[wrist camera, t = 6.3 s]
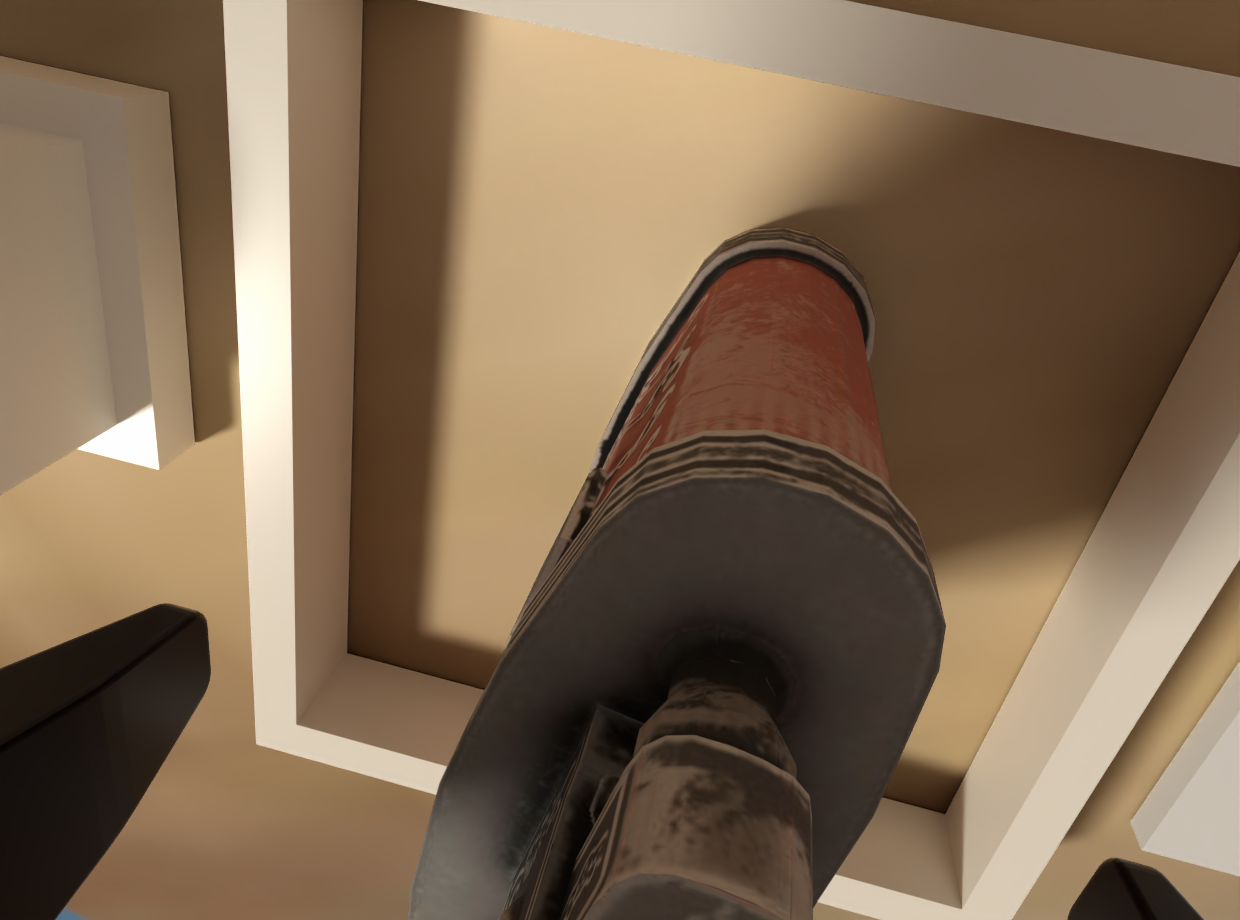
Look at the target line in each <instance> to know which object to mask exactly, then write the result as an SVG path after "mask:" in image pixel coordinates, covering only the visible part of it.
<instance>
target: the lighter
mask: <svg viewBox="0 0 1240 920" xmlns="http://www.w3.org/2000/svg"><path fill="white" fill-rule="evenodd" d="M875 325H876V321H875V317H874V312H873V308H872V304H871V301H870V297H869V294H868V291H867V288H866V285H865V282H864V279H863V276H862V275H861V274H860V272H859V271H858V270H857V269H856V267H855V266H854V265H853V264H852V263H851V261H850V260H849V259H848V258H847V256H846V255H845V254H844V253H843V252H842V251H840V250H839V249H837V248H835V247H834V246H832V245H831V244H829V243H827V242H826V241H824V240H822V239H821V238H819V237H818V236H816V235H813V234H809V233H805V232H801V231H797V230H793V229H789V228H785V227H781V228H766V229H752V230H750V231H747V232H745V233H742V234H740V235H738V236H735V237H733V238H731V239H728V240H726V241H724V242H723V243H722V244H721V245H720V246H719V247H718V248H717V249H716V250H715V251H714V252H713V253H712V254H710V255H709V256H708V257H707V258H706V259H705V260H704V262H703V263H702V265H701V266H700V268H699V269H698V271H697V272H696V274H695V275H694V277H693V278H692V280H691V281H690V283H689V284H688V286H687V287H686V289H685V290H684V292H683V293H682V295H681V296H680V298H679V299H678V301H677V302H676V304H675V305H674V307H673V308H672V310H671V311H670V313H669V314H668V316H667V317H666V319H665V320H664V321H663V323H662V324H661V326H660V327H659V329H658V330H657V332H656V333H655V335H654V336H653V338H652V339H651V341H650V342H649V344H648V346H647V348H646V350H645V352H644V354H643V356H642V358H641V360H640V362H639V364H638V366H637V368H636V370H635V372H634V374H633V376H632V378H631V380H630V382H629V384H628V386H627V388H626V390H625V392H624V394H623V396H622V398H621V400H620V402H619V404H618V406H617V408H616V410H615V412H614V414H613V416H612V418H611V420H610V422H609V424H608V426H607V428H606V430H605V432H604V435H603V437H602V439H601V441H600V443H599V445H598V447H597V449H596V452H595V456H594V459H593V462H592V465H591V468H590V472H589V475H588V477H587V479H586V481H585V483H584V485H583V487H582V489H581V491H580V493H579V495H578V496H577V498H576V500H575V502H574V504H573V506H572V508H571V510H570V512H569V514H568V516H567V518H566V520H565V522H564V524H563V526H562V528H561V530H560V532H559V534H558V536H557V538H556V540H555V542H554V544H553V546H552V548H551V550H550V552H549V554H548V556H547V558H546V560H545V562H544V564H543V566H542V568H541V570H540V572H539V574H538V576H537V578H536V580H535V583H534V585H533V587H532V589H531V591H530V593H529V595H528V597H527V600H526V602H525V604H524V606H523V608H522V610H521V612H520V614H519V617H518V619H517V621H516V623H515V625H514V627H513V629H512V632H511V634H510V636H509V638H508V640H507V643H506V646H505V650H504V653H503V654H502V656H501V658H500V660H499V662H498V664H497V666H496V668H495V670H494V672H493V674H492V676H491V678H490V680H489V682H488V684H487V686H486V688H485V690H484V692H483V694H482V696H481V698H480V700H479V702H478V704H477V706H476V708H475V710H474V711H473V713H472V715H471V717H470V719H469V721H468V723H467V725H466V728H465V730H464V732H463V734H462V736H461V738H460V740H459V742H458V745H457V747H456V749H455V751H454V753H453V755H452V757H451V759H450V762H449V764H448V766H447V768H446V770H445V772H444V774H443V776H442V779H441V781H440V783H439V786H438V790H437V794H436V797H435V801H434V805H433V809H432V812H431V816H430V820H429V824H428V827H427V831H426V835H425V839H424V842H423V846H422V850H421V854H420V857H419V861H418V865H417V868H416V872H415V876H414V880H413V883H412V887H411V891H410V903H409V917H408V920H813V908H814V906H815V904H816V903H817V901H818V900H819V898H820V897H821V895H822V894H823V892H824V891H825V889H826V888H827V886H828V885H829V883H830V882H831V880H832V879H833V877H834V876H835V874H836V873H837V871H838V870H839V868H840V867H841V865H842V864H843V862H844V861H845V859H846V857H847V856H848V854H849V853H850V851H851V850H852V848H853V847H854V845H855V844H856V842H857V841H858V839H859V838H860V836H861V835H862V833H863V832H864V830H865V829H866V827H867V826H868V824H869V823H870V821H871V820H872V818H873V817H874V814H875V812H876V810H877V808H878V805H879V803H880V801H881V799H882V796H883V794H884V792H885V790H886V788H887V785H888V783H889V781H890V779H891V776H892V774H893V772H894V770H895V768H896V765H897V763H898V761H899V759H900V756H901V754H902V752H903V750H904V747H905V745H906V743H907V741H908V739H909V736H910V734H911V732H912V730H913V727H914V725H915V723H916V721H917V719H918V716H919V714H920V712H921V710H922V707H923V705H924V703H925V701H926V698H927V696H928V694H929V692H930V690H931V687H932V685H933V683H934V681H935V678H936V676H937V674H938V672H939V668H940V661H941V654H942V648H943V641H944V635H945V628H946V625H945V620H944V616H943V611H942V607H941V603H940V598H939V594H938V590H937V585H936V581H935V577H934V572H933V568H932V564H931V561H930V558H929V556H928V553H927V550H926V547H925V544H924V541H923V538H922V535H921V532H920V529H919V526H918V523H917V520H916V519H915V518H914V516H913V515H912V514H911V513H910V512H909V511H908V509H907V508H906V507H905V506H904V505H903V504H902V503H901V501H900V500H899V499H898V498H897V497H896V496H895V495H894V493H893V492H892V491H891V486H890V481H889V476H888V470H887V465H886V459H885V454H884V448H883V443H882V437H881V432H880V426H879V421H878V415H877V410H876V404H875V399H874V393H873V388H872V382H871V377H870V371H869V366H868V364H869V361H870V358H871V355H872V352H873V347H874V336H875Z"/></svg>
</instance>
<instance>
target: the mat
mask: <svg viewBox="0 0 1240 920" xmlns="http://www.w3.org/2000/svg"><path fill="white" fill-rule="evenodd" d="M1130 823H1131V825H1132V828H1133V830H1134V833H1135V835H1136V838H1137V840H1138V843H1139V845H1140V848H1141V850H1143V851H1147V852H1151V853H1154V854H1158V855H1162V856H1166V857H1169V858H1173V859H1177V860H1180V861H1184V862H1188V863H1192V864H1195V865H1199V866H1203V867H1207V868H1210V869H1214V870H1218V871H1222V872H1225V873H1229V874H1233V875H1237V876H1240V662H1239V663H1238V664H1237V666H1236V667H1235V669H1234V670H1233V672H1232V673H1231V675H1230V676H1229V678H1228V679H1227V681H1226V682H1225V684H1224V685H1223V687H1222V688H1221V689H1220V691H1219V692H1218V694H1217V695H1216V697H1215V698H1214V700H1213V701H1212V703H1211V704H1210V706H1209V707H1208V709H1207V710H1206V711H1205V713H1204V714H1203V716H1202V717H1201V719H1200V720H1199V722H1198V723H1197V725H1196V726H1195V728H1194V729H1193V731H1192V732H1191V734H1190V735H1189V736H1188V738H1187V739H1186V741H1185V742H1184V744H1183V745H1182V747H1181V748H1180V750H1179V751H1178V753H1177V754H1176V756H1175V757H1174V758H1173V760H1172V761H1171V763H1170V764H1169V766H1168V767H1167V769H1166V770H1165V772H1164V773H1163V775H1162V776H1161V778H1160V779H1159V781H1158V782H1157V783H1156V785H1155V786H1154V788H1153V789H1152V791H1151V792H1150V794H1149V795H1148V797H1147V798H1146V800H1145V801H1144V803H1143V804H1142V805H1141V807H1140V808H1139V810H1138V811H1137V813H1136V814H1135V816H1134V817H1133V819H1132V820H1131V822H1130Z"/></svg>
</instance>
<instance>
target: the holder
mask: <svg viewBox="0 0 1240 920" xmlns="http://www.w3.org/2000/svg"><path fill="white" fill-rule="evenodd" d="M419 1H424V2H429V3H434V4H439V5H443V6H448V7H453V8H458V9H463V10H468V11H473V12H478V13H483V14H488V15H493V16H498V17H503V18H508V19H512V20H517V21H522V22H527V23H532V24H537V25H542V26H547V27H552V28H557V29H562V30H567V31H572V32H577V33H581V34H586V35H591V36H596V37H601V38H606V39H611V40H616V41H621V42H626V43H631V44H636V45H641V46H646V47H650V48H655V49H660V50H665V51H670V52H675V53H680V54H685V55H690V56H695V57H700V58H705V59H710V60H715V61H719V62H724V63H729V64H734V65H739V66H744V67H749V68H754V69H759V70H764V71H769V72H774V73H779V74H784V75H788V76H793V77H798V78H803V79H808V80H813V81H818V82H823V83H828V84H833V85H838V86H843V87H848V88H853V89H857V90H862V91H867V92H872V93H877V94H882V95H887V96H892V97H897V98H902V99H907V100H912V101H917V102H922V103H926V104H931V105H936V106H941V107H946V108H951V109H956V110H961V111H966V112H971V113H976V114H981V115H986V116H991V117H995V118H1000V119H1005V120H1010V121H1015V122H1020V123H1025V124H1030V125H1035V126H1040V127H1045V128H1050V129H1055V130H1060V131H1064V132H1069V133H1074V134H1079V135H1084V136H1089V137H1094V138H1099V139H1104V140H1109V141H1114V142H1119V143H1124V144H1129V145H1133V146H1138V147H1143V148H1148V149H1153V150H1158V151H1163V152H1168V153H1173V154H1178V155H1183V156H1188V157H1193V158H1198V159H1202V160H1207V161H1212V162H1217V163H1222V164H1227V165H1232V166H1237V167H1240V77H1236V76H1231V75H1226V74H1221V73H1216V72H1210V71H1205V70H1200V69H1195V68H1190V67H1185V66H1180V65H1174V64H1169V63H1164V62H1159V61H1154V60H1149V59H1144V58H1139V57H1133V56H1128V55H1123V54H1118V53H1113V52H1108V51H1103V50H1097V49H1092V48H1087V47H1082V46H1077V45H1072V44H1067V43H1061V42H1056V41H1051V40H1046V39H1041V38H1036V37H1031V36H1026V35H1020V34H1015V33H1010V32H1005V31H1000V30H995V29H990V28H984V27H979V26H974V25H969V24H964V23H959V22H954V21H948V20H943V19H938V18H933V17H928V16H923V15H918V14H912V13H907V12H902V11H897V10H892V9H887V8H882V7H877V6H871V5H866V4H861V3H856V2H851V1H846V0H419ZM223 14H224V36H225V58H226V81H227V103H228V125H229V148H230V170H231V192H232V215H233V237H234V259H235V282H236V304H237V326H238V349H239V371H240V393H241V416H242V438H243V460H244V483H245V505H246V527H247V550H248V572H249V594H250V617H251V639H252V661H253V684H254V706H255V728H256V744H257V745H261V746H264V747H268V748H272V749H275V750H279V751H282V752H286V753H289V754H293V755H296V756H300V757H304V758H307V759H311V760H314V761H318V762H321V763H325V764H328V765H332V766H336V767H339V768H343V769H346V770H350V771H353V772H357V773H360V774H364V775H368V776H371V777H375V778H378V779H382V780H385V781H389V782H393V783H396V784H400V785H403V786H407V787H410V788H414V789H417V790H421V791H425V792H428V793H432V794H435V795H436V794H437V790H438V786H439V783H440V781H441V779H442V776H443V774H444V772H445V770H446V768H447V766H448V764H449V762H450V759H451V757H452V755H453V753H454V751H455V749H456V747H457V745H458V742H459V740H460V738H461V736H462V734H463V732H464V730H465V728H466V725H467V723H468V721H469V719H470V717H471V715H472V713H473V711H474V710H475V708H476V706H477V704H478V702H479V700H480V698H481V696H482V694H483V692H484V690H482V689H478V688H475V687H471V686H467V685H463V684H460V683H456V682H452V681H449V680H445V679H441V678H438V677H434V676H430V675H426V674H423V673H419V672H415V671H412V670H408V669H404V668H400V667H397V666H393V665H389V664H386V663H382V662H378V661H374V660H371V659H367V658H363V657H360V656H356V655H352V654H348V653H347V631H348V590H349V549H350V509H351V468H352V427H353V386H354V345H355V305H356V264H357V223H358V182H359V141H360V100H361V60H362V19H363V0H223ZM194 445H195V439H194V426H193V412H192V399H191V386H190V372H189V359H188V346H187V332H186V319H185V306H184V292H183V279H182V266H181V253H180V239H179V226H178V213H177V199H176V186H175V173H174V159H173V146H172V133H171V119H170V106H169V93H168V92H164V91H160V90H155V89H151V88H146V87H141V86H137V85H132V84H128V83H123V82H118V81H114V80H109V79H105V78H100V77H95V76H91V75H86V74H82V73H77V72H72V71H68V70H63V69H59V68H54V67H49V66H45V65H40V64H36V63H31V62H26V61H22V60H17V59H13V58H8V57H3V56H0V495H1V494H3V493H5V492H6V491H8V490H10V489H11V488H13V487H15V486H16V485H18V484H20V483H21V482H23V481H25V480H26V479H28V478H30V477H31V476H33V475H35V474H36V473H38V472H39V471H41V470H43V469H44V468H46V467H48V466H49V465H51V464H53V463H54V462H56V461H58V460H59V459H61V458H63V457H64V456H66V455H68V454H69V453H71V452H73V451H74V450H76V449H79V450H83V451H87V452H91V453H95V454H99V455H103V456H107V457H110V458H114V459H118V460H122V461H126V462H130V463H134V464H138V465H142V466H146V467H150V468H153V469H157V470H160V469H161V468H163V467H164V466H166V465H167V464H168V463H170V462H171V461H173V460H174V459H175V458H177V457H178V456H180V455H181V454H182V453H184V452H185V451H187V450H188V449H189V448H191V447H192V446H194ZM1239 560H1240V252H1239V254H1238V255H1237V257H1236V259H1235V261H1234V263H1233V265H1232V267H1231V269H1230V271H1229V273H1228V275H1227V277H1226V278H1225V280H1224V282H1223V284H1222V286H1221V288H1220V290H1219V292H1218V294H1217V296H1216V298H1215V299H1214V301H1213V303H1212V305H1211V307H1210V309H1209V311H1208V313H1207V315H1206V317H1205V319H1204V320H1203V322H1202V324H1201V326H1200V328H1199V330H1198V332H1197V334H1196V336H1195V338H1194V340H1193V341H1192V343H1191V345H1190V347H1189V349H1188V351H1187V353H1186V355H1185V357H1184V359H1183V361H1182V363H1181V364H1180V366H1179V368H1178V370H1177V372H1176V374H1175V376H1174V378H1173V380H1172V382H1171V384H1170V385H1169V387H1168V389H1167V391H1166V393H1165V395H1164V397H1163V399H1162V401H1161V403H1160V405H1159V406H1158V408H1157V410H1156V412H1155V414H1154V416H1153V418H1152V420H1151V422H1150V424H1149V426H1148V428H1147V429H1146V431H1145V433H1144V435H1143V437H1142V439H1141V441H1140V443H1139V445H1138V447H1137V449H1136V450H1135V452H1134V454H1133V456H1132V458H1131V460H1130V462H1129V464H1128V466H1127V468H1126V470H1125V471H1124V473H1123V475H1122V477H1121V479H1120V481H1119V483H1118V485H1117V487H1116V489H1115V491H1114V492H1113V494H1112V496H1111V498H1110V500H1109V502H1108V504H1107V506H1106V508H1105V510H1104V512H1103V514H1102V515H1101V517H1100V519H1099V521H1098V523H1097V525H1096V527H1095V529H1094V531H1093V533H1092V535H1091V536H1090V538H1089V540H1088V542H1087V544H1086V546H1085V548H1084V550H1083V552H1082V554H1081V556H1080V557H1079V559H1078V561H1077V563H1076V565H1075V567H1074V569H1073V571H1072V573H1071V575H1070V577H1069V579H1068V580H1067V582H1066V584H1065V586H1064V588H1063V590H1062V592H1061V594H1060V596H1059V598H1058V600H1057V601H1056V603H1055V605H1054V607H1053V609H1052V611H1051V613H1050V615H1049V617H1048V619H1047V621H1046V622H1045V624H1044V626H1043V628H1042V630H1041V632H1040V634H1039V636H1038V638H1037V640H1036V642H1035V643H1034V645H1033V647H1032V649H1031V651H1030V653H1029V655H1028V657H1027V659H1026V661H1025V663H1024V665H1023V666H1022V668H1021V670H1020V672H1019V674H1018V676H1017V678H1016V680H1015V682H1014V684H1013V686H1012V687H1011V689H1010V691H1009V693H1008V695H1007V697H1006V699H1005V701H1004V703H1003V705H1002V707H1001V708H1000V710H999V712H998V714H997V716H996V718H995V720H994V722H993V724H992V726H991V728H990V730H989V731H988V733H987V735H986V737H985V739H984V741H983V743H982V745H981V747H980V749H979V751H978V752H977V754H976V756H975V758H974V760H973V762H972V764H971V766H970V768H969V770H968V772H967V773H966V775H965V777H964V779H963V781H962V783H961V785H960V787H959V789H958V791H957V793H956V795H955V796H954V798H953V800H952V802H951V804H950V806H949V808H948V810H947V812H946V814H942V813H939V812H935V811H931V810H928V809H924V808H920V807H916V806H913V805H909V804H905V803H902V802H898V801H894V800H890V799H887V798H883V797H882V799H881V801H880V803H879V805H878V808H877V810H876V812H875V814H874V817H873V818H872V820H871V821H870V823H869V824H868V826H867V827H866V829H865V830H864V832H863V833H862V835H861V836H860V838H859V839H858V841H857V842H856V844H855V845H854V847H853V848H852V850H851V851H850V853H849V854H848V856H847V857H846V859H845V861H844V862H843V864H842V865H841V867H840V868H839V870H838V871H837V873H836V874H835V876H834V877H833V879H832V880H831V882H830V883H829V885H828V886H827V888H826V889H825V891H824V892H823V894H822V895H821V897H820V898H819V900H818V901H817V902H820V903H823V904H827V905H830V906H834V907H837V908H841V909H844V910H848V911H852V912H855V913H859V914H862V915H866V916H869V917H873V918H877V919H880V920H1012V918H1013V917H1014V915H1015V913H1016V912H1017V910H1018V909H1019V907H1020V905H1021V904H1022V902H1023V901H1024V899H1025V898H1026V896H1027V894H1028V893H1029V891H1030V890H1031V888H1032V887H1033V885H1034V883H1035V882H1036V880H1037V879H1038V877H1039V875H1040V874H1041V872H1042V871H1043V869H1044V868H1045V866H1046V864H1047V863H1048V861H1049V860H1050V858H1051V857H1052V855H1053V853H1054V852H1055V850H1056V849H1057V847H1058V845H1059V844H1060V842H1061V841H1062V839H1063V838H1064V836H1065V834H1066V833H1067V831H1068V830H1069V828H1070V827H1071V825H1072V823H1073V822H1074V820H1075V819H1076V817H1077V815H1078V814H1079V812H1080V811H1081V809H1082V808H1083V806H1084V804H1085V803H1086V801H1087V800H1088V798H1089V797H1090V795H1091V793H1092V792H1093V790H1094V789H1095V787H1096V785H1097V784H1098V782H1099V781H1100V779H1101V778H1102V776H1103V774H1104V773H1105V771H1106V770H1107V768H1108V767H1109V765H1110V763H1111V762H1112V760H1113V759H1114V757H1115V756H1116V754H1117V752H1118V751H1119V749H1120V748H1121V746H1122V744H1123V743H1124V741H1125V740H1126V738H1127V737H1128V735H1129V733H1130V732H1131V730H1132V729H1133V727H1134V726H1135V724H1136V722H1137V721H1138V719H1139V718H1140V716H1141V714H1142V713H1143V711H1144V710H1145V708H1146V707H1147V705H1148V703H1149V702H1150V700H1151V699H1152V697H1153V696H1154V694H1155V692H1156V691H1157V689H1158V688H1159V686H1160V684H1161V683H1162V681H1163V680H1164V678H1165V677H1166V675H1167V673H1168V672H1169V670H1170V669H1171V667H1172V666H1173V664H1174V662H1175V661H1176V659H1177V658H1178V656H1179V654H1180V653H1181V651H1182V650H1183V648H1184V647H1185V645H1186V643H1187V642H1188V640H1189V639H1190V637H1191V636H1192V634H1193V632H1194V631H1195V629H1196V628H1197V626H1198V624H1199V623H1200V621H1201V620H1202V618H1203V617H1204V615H1205V613H1206V612H1207V610H1208V609H1209V607H1210V606H1211V604H1212V602H1213V601H1214V599H1215V598H1216V596H1217V594H1218V593H1219V591H1220V590H1221V588H1222V587H1223V585H1224V583H1225V582H1226V580H1227V579H1228V577H1229V576H1230V574H1231V572H1232V571H1233V569H1234V568H1235V566H1236V564H1237V563H1238V561H1239Z"/></svg>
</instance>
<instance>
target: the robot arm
mask: <svg viewBox="0 0 1240 920" xmlns="http://www.w3.org/2000/svg"><path fill="white" fill-rule="evenodd" d="M210 675H211V666H210V653H209V640H208V627H207V620H206V618H205V617H204V615H203V614H202V613H200V612H199V611H196V610H192V609H188V608H185V607H181V606H177V605H173V604H166V603H164V604H159V605H156V606H153V607H151V608H148V609H146V610H143V611H141V612H138V613H136V614H133V615H131V616H129V617H126V618H124V619H121V620H119V621H116V622H114V623H111V624H109V625H106V626H104V627H101V628H99V629H96V630H94V631H92V632H89V633H87V634H84V635H82V636H79V637H77V638H74V639H72V640H69V641H67V642H64V643H62V644H59V645H57V646H55V647H52V648H50V649H47V650H45V651H42V652H40V653H37V654H35V655H32V656H30V657H27V658H25V659H23V660H20V661H18V662H15V663H13V664H10V665H8V666H5V667H3V668H0V920H55V919H56V918H57V917H58V915H59V914H60V913H61V911H62V910H63V909H64V907H65V906H66V905H67V903H68V902H69V901H70V899H71V898H72V897H73V895H74V894H75V893H76V891H77V890H78V889H79V887H80V886H81V885H82V883H83V882H84V881H85V879H86V878H87V877H88V875H89V874H90V873H91V871H92V870H93V869H94V867H95V866H96V865H97V863H98V862H99V861H100V859H101V858H102V857H103V855H104V854H105V853H106V851H107V850H108V849H109V847H110V846H111V844H112V843H113V842H114V840H115V839H116V837H117V836H118V835H119V833H120V832H121V830H122V829H123V827H124V826H125V824H126V823H127V821H128V820H129V818H130V816H131V815H132V813H133V812H134V810H135V809H136V807H137V805H138V804H139V802H140V800H141V799H142V797H143V796H144V794H145V792H146V791H147V789H148V787H149V786H150V784H151V782H152V781H153V779H154V777H155V776H156V774H157V772H158V771H159V769H160V767H161V766H162V764H163V762H164V761H165V759H166V758H167V756H168V754H169V753H170V751H171V749H172V748H173V746H174V744H175V743H176V741H177V739H178V738H179V736H180V734H181V733H182V731H183V729H184V728H185V726H186V724H187V723H188V721H189V719H190V718H191V716H192V715H193V713H194V711H195V710H196V708H197V706H198V705H199V703H200V701H201V700H202V698H203V696H204V694H205V692H206V690H207V687H208V684H209V681H210ZM1068 920H1204V919H1203V918H1202V917H1201V916H1200V915H1199V914H1198V912H1197V911H1196V910H1195V909H1194V908H1193V907H1192V906H1191V905H1190V904H1189V902H1188V901H1187V900H1186V899H1185V898H1184V897H1183V896H1182V895H1181V894H1180V893H1179V891H1178V890H1177V889H1176V888H1175V887H1174V886H1173V885H1172V884H1171V883H1170V881H1169V880H1168V879H1167V878H1166V877H1165V876H1164V875H1163V874H1162V873H1161V872H1159V871H1158V870H1156V869H1154V868H1152V867H1150V866H1146V865H1142V864H1139V863H1135V862H1131V861H1127V860H1124V859H1120V858H1109V859H1107V860H1105V861H1103V863H1102V864H1101V865H1100V866H1099V868H1098V869H1097V871H1096V872H1095V874H1094V875H1093V876H1092V878H1091V879H1090V881H1089V882H1088V884H1087V885H1086V887H1085V888H1084V890H1083V891H1082V893H1081V894H1080V895H1079V897H1078V898H1077V900H1076V901H1075V903H1074V904H1073V906H1072V908H1071V910H1070V912H1069V915H1068Z"/></svg>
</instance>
